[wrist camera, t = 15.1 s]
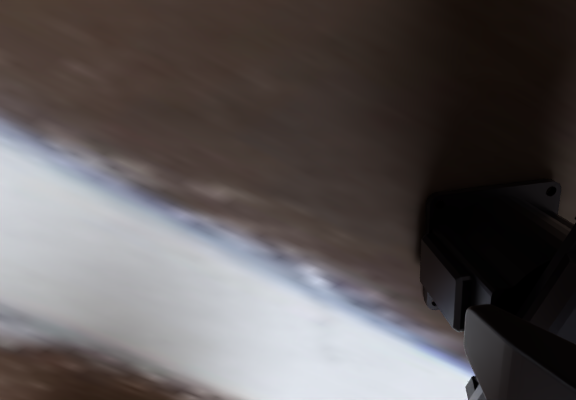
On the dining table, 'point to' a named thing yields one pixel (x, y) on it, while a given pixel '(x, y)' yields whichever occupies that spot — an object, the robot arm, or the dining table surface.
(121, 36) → the dining table surface
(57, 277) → the dining table surface
